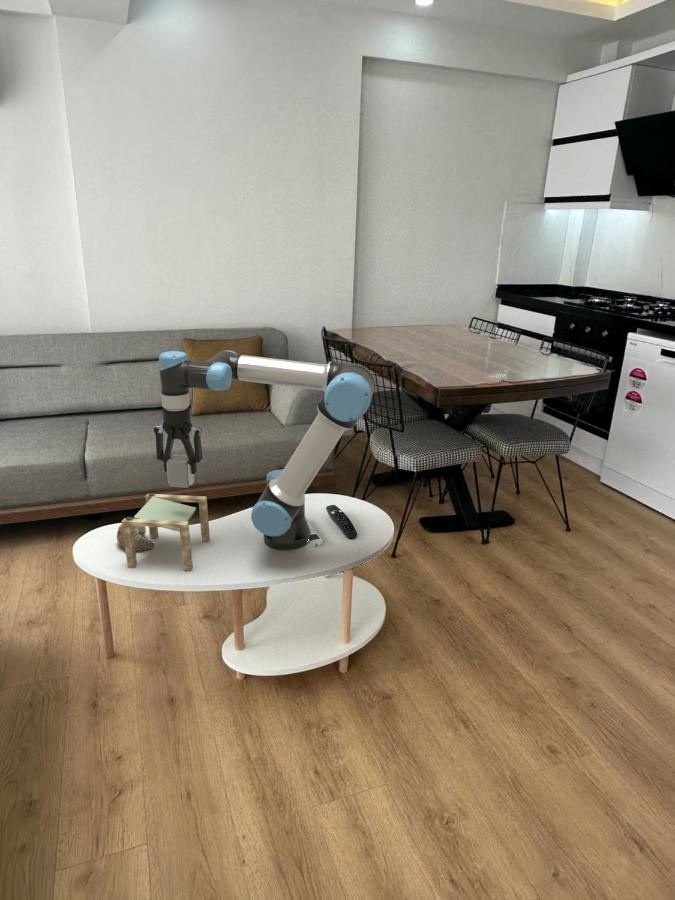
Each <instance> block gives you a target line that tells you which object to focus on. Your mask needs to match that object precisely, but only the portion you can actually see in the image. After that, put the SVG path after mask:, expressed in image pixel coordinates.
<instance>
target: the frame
mask: <svg viewBox="0 0 675 900" xmlns="http://www.w3.org/2000/svg"><path fill="white" fill-rule="evenodd" d="M144 496H145V497H144V498H145V504H146V503H147V502H148V501H149V500H150V499H151V498H152V497H156V498H160V499H164V500H168V501H172V502H178V503H179V502H183V503H198V511H199V512H198V513H199V521H200V522H199V524H200V535H201V543H209V541H210V540H211V535H210V526H209V525H210V524H209V522H210V521H209V511H208V498H207V496H202V495H179V494H162V493H160V494H159V493H153V492H152V493H147V494H146V495H144ZM121 524H122V529H123V536H124V543H125V548H124V549H125V557H126V558H125V559H126V562H127V563H126V565H127V568H128V569H129V568H131V569H132V568H133V569H135V568H136V566H137V565H138V560H137V554H136V552H137V551H136V550H135V544H134V536H133V529H132V526H145V528H146V527H147V528H148V530H149V531H148V532H149V538H150V539H149V540H151V541H152V540H153V541H157V540H158V538H159V537H160V536H159V528H162V527H165V528H164V529H166V528H180V532H179V536H180V545H181V556H182V566H183V571H184V572H191V571H192V570H193V568H194V566H193V558H192V557H193V556H192V546H191V545H192V544H191V536H190V534H191V533H190V525H189V521H188V522H186V521H167V520H148V519H134V518H133V517H132V516H131V517H130V516H127V517H126V518H125V517H124V518H123V519H122V520H121Z"/></svg>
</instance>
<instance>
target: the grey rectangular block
mask: <svg viewBox="0 0 675 900" xmlns="http://www.w3.org/2000/svg"><path fill="white" fill-rule="evenodd" d="M170 457H171V458H170V459H169V460H168V461H167V467H168V475H167V481H168V480H169V484H168V487H169V488H182V489H184V488H185V489H188V488H189V487H190V485H189V480H188V464H189V463H190V462H189V459H188V456H187V454H176V453H175V454H173V455H172V456H170Z"/></svg>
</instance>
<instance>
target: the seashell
mask: <svg viewBox="0 0 675 900" xmlns="http://www.w3.org/2000/svg"><path fill="white" fill-rule="evenodd" d="M132 529H133V536H134V544H135V552H141V551H145V552H146V551H147V550H152V549H154V547H155V542H153V541H152V540H151V539H148V538H145V537H144V536H145V535H146V533H147V531H146V526H145V527H143V526H132ZM116 540H117V542H118V544H119V545H120V546H121V547H122V548H124V549H125V543H124V536H123V529H122V523H121V524H120V525H119V526H118V530H117V532H116Z"/></svg>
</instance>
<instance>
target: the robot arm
mask: <svg viewBox="0 0 675 900" xmlns="http://www.w3.org/2000/svg"><path fill="white" fill-rule="evenodd" d="M188 359H189V358H188V356H187V353H186V352H184V351H178V350H173V351H164V352H162V353H161V354H160V355H159V357H158V361H159V363H158V365H159V366H158V367H159V368H158V371H159V380H160V393H161V396H160V397H161V406H162V418H163V419H162V421H163V423H162V425H156V426H155V427H154V428H153V432H154V435H155V448H156V449H155V451H156V460H158V461H162V462H163V471H164V472H165V473H167V474H166V475H167V476H168V467H167V461H168V460H169V459H170V458H171V457H172V456H171V455H172V451H173V446H174V441H175V440H180V441H181V443H182V445H183V447H184V450H185V453H186V455H187V456H188V459H189V462H190V463H189V464H188V480H189V486H192V485H193V484H194V483H195V474H196V473H197V472H198V470H197V464H199V463H200V462H201V461H202V460H203V450H202V441H201V440H202V439H201V435H202V432H203V429H202V428H201V427H199V428H196V427H194V426H193V424H192V423H191V421H192V420H191V408H190V407H189V406H190V389H195V390H196V389H197V390H208V391H216V392H217V391H226V390H228V389H230V388H231V385H232V381H233V380H234V381H241V382H247V383H248V382H250V383H258V384H264V385H265V384H266V385H272V386H273V385H274V386H281V387H290V388H299V389H307V390H315V391H323V395H321V398H320V399H319V401H318V403H317V405H316V409H317V415H316V416H315V418H314V420H313V421H312V423H311V425H310V426H309V428H308V430H307V431H306V433H305V434H304V436H303V437H302V439H301V441H300V442H299V444H298V446H297V447H296V449H295V450H294V452H293V454H292V455H291V457H290V459H289V460H288V462H287V464H286V465H285V467H284V468H283V469H281V468H280V469H275V470H272V471H271V470H270V471H268V472H267V474H266V487H265V489H264V490H263V492H262V494H261V495H260V497H259V498H258V500H257V502H256V503H255V504H254V506H253V507H252V511H251V515H250V517H251V521H252V525H253V526H254V528H255V529H256V530H257V531H258V532H259V533H261V534H263V542H264V543H265V545H266V546H268V547H270V548H273V549H276V550H284V551H285V550H286V551H287V550H289V551H290V550H296V549H298V548H302V547H304V546H306V545H307V544H308V543H307V541H308V539H309V538H310V534H311V528H310V525H309V523H308V520H307V517H306V514H305V513H306V512H305V511H306V510H305V508H306V507H305V505H306V504H305V501H306V497H305V493H306V491H307V490H308V488H309V487H310V486H311V483H312V482H313V480H314V479H315V477H316V476H317V474H318V472H319V471H320V470H321V468H322V466H323V465H324V464H325V462H326V460H327V459H328V457H330V454H331V453H332V451H333V450H334V448H335V447H336V445H337V443H338V442H339V441H340V439H341V437H342V435H344V433H345V432H346V431H350V430H353V429H354V428H355V426H356V424H357V423H358V421H360V418H361V417H363V415H365V414H366V412H367V411H368V409H369V407H370V405H371V402H372V397H373V395H374V392H375V389H376V380H375V378H374V376H373V374H372V372H371V371H370V370H369V368H367V367H366V366H363V365H361V364H358V363H354V362H353V363H352V362H351V363H350V362H341V361H339V362H338V361H329V362H328V363H316V362H307V361H301V360H300V361H298V360H290V359H281V358H272V357H264V356H263V357H262V356H254V355H248V354H247V355H246V354H238V353H237V352H235V351H233V350H227V349H226V350H222V351H219V352H218V353H216V354H215V355H214V356H212V357H210V358H209V359H207V360H206V361H198V360H197V361H196V360H195V361H193V360H188ZM164 432H165V433H166V434H167V437H166V443H165V449H164ZM190 433H191V434H192V436H193V445H192V442H191V437H190ZM193 447H194V448H193ZM167 484H168V485H169V480H168V479H167ZM306 543H307V544H306Z"/></svg>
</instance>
